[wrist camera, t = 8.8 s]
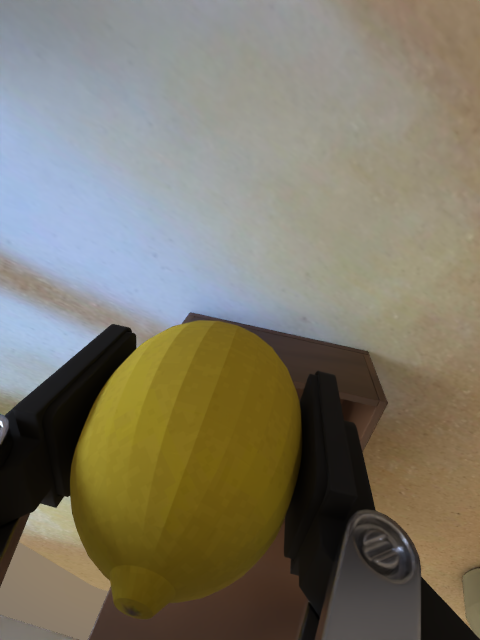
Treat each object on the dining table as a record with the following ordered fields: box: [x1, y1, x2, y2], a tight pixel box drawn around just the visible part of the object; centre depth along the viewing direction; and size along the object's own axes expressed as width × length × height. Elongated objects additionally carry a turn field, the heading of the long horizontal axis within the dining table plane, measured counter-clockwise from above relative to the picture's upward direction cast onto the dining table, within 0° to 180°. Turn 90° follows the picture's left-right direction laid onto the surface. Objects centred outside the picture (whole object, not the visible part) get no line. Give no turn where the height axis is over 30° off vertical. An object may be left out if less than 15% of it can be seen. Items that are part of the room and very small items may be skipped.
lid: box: [88, 519, 306, 640], centre depth 23 cm, size 16×16×6 cm
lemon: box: [70, 320, 302, 619], centre depth 8 cm, size 6×6×8 cm
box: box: [182, 313, 388, 452], centre depth 28 cm, size 15×16×7 cm
